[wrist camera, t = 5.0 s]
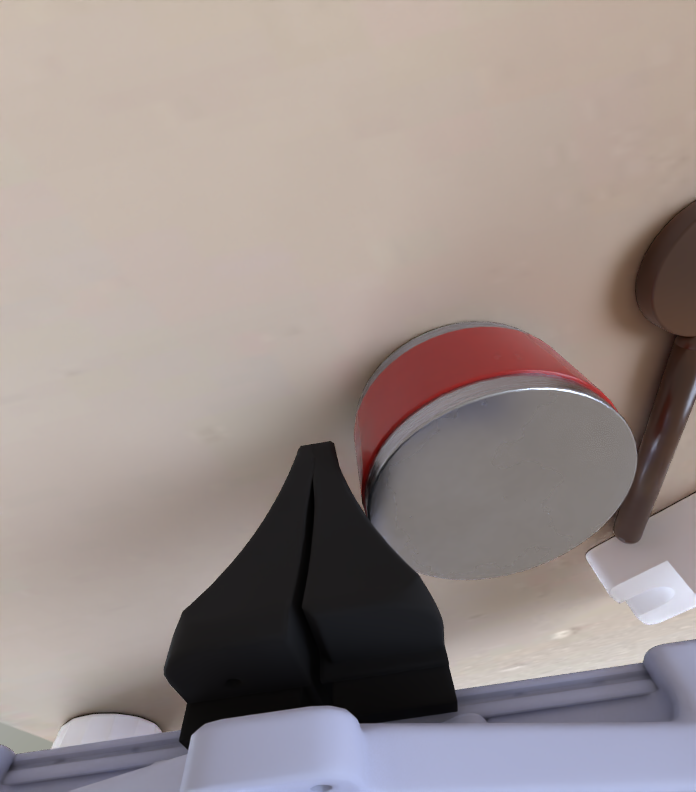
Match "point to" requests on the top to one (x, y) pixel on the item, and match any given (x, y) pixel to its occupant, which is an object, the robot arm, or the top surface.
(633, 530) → the round wooden paddle
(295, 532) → the robot arm
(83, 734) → the white cup
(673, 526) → the white slotted mount
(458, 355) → the tin
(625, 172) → the top surface
